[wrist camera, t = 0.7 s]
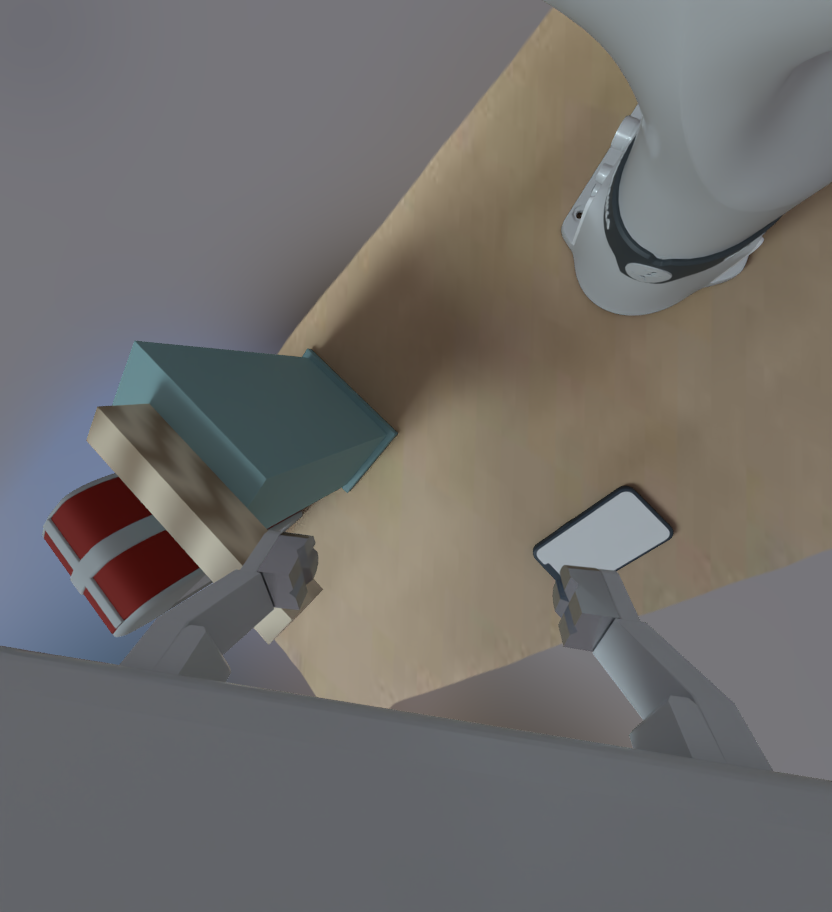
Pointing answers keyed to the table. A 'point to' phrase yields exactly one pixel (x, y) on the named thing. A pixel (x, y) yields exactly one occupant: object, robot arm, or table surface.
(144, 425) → the rail
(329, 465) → the tall teal upright box
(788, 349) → the table surface
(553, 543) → the phone case
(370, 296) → the table surface
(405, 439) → the table surface
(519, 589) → the table surface
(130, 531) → the red striped toaster
